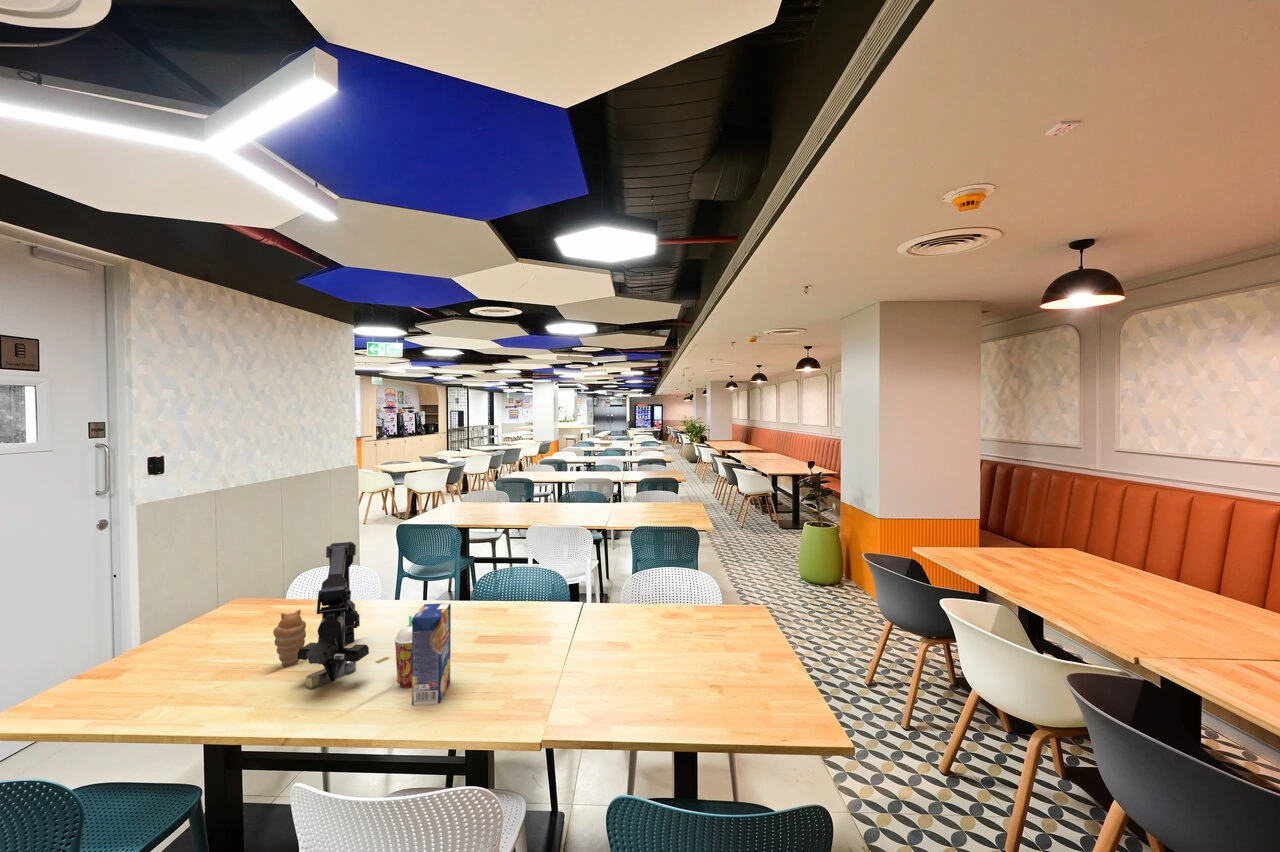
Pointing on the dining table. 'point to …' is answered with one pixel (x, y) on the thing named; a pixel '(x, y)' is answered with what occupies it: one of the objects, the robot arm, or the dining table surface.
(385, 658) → the brass stop
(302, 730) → the dining table surface
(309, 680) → the swing bar
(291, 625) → the cat ice cream
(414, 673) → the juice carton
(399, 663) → the smoothie
